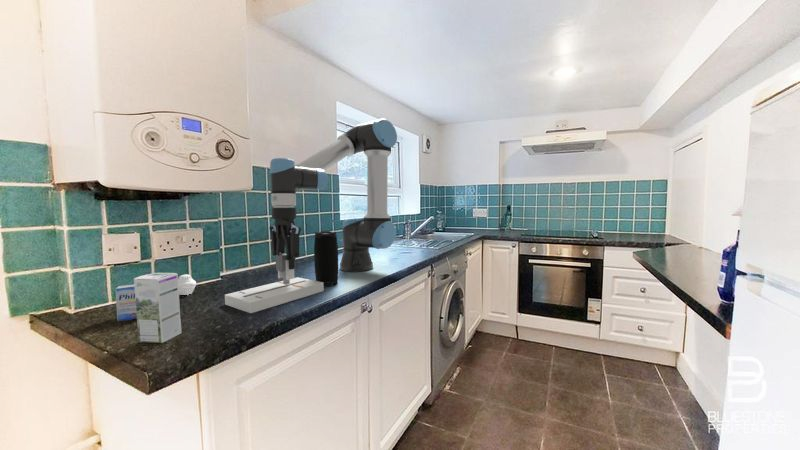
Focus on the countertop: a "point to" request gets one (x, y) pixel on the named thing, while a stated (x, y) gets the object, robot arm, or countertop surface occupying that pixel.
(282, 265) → the fader tab
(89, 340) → the countertop surface
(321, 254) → the portable speaker
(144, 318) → the syrup box
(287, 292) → the fader console
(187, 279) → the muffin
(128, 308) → the medicine box
